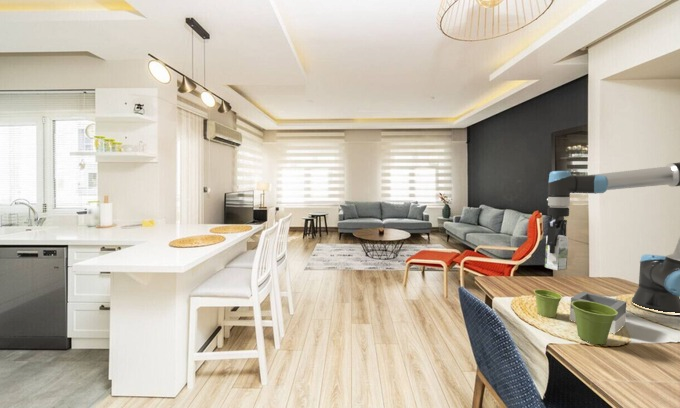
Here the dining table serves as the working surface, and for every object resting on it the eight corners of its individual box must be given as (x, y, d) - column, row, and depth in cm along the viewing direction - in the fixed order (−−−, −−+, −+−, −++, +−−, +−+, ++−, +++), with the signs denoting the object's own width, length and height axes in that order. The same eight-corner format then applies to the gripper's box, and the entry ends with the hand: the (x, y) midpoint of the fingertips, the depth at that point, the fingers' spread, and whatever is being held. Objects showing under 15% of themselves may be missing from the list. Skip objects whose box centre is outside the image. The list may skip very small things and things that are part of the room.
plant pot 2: (560, 330, 105) (562, 299, 104) (594, 331, 105) (597, 300, 104) (587, 349, 93) (590, 314, 93) (626, 350, 93) (628, 315, 92)
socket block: (581, 312, 121) (582, 291, 120) (624, 325, 110) (626, 301, 109) (569, 320, 113) (571, 297, 113) (614, 334, 103) (616, 309, 102)
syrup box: (553, 266, 132) (554, 234, 131) (567, 269, 126) (568, 236, 126) (544, 267, 130) (545, 235, 129) (558, 271, 125) (559, 237, 124)
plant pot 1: (562, 314, 119) (563, 293, 118) (559, 322, 112) (560, 300, 111) (535, 307, 125) (536, 287, 124) (530, 314, 118) (531, 293, 118)
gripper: (557, 205, 135) (555, 254, 137) (538, 207, 124) (536, 260, 126) (577, 206, 129) (574, 258, 131) (559, 208, 118) (557, 264, 119)
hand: (556, 259), depth 128 cm, fingers closed on syrup box, 7 cm apart
